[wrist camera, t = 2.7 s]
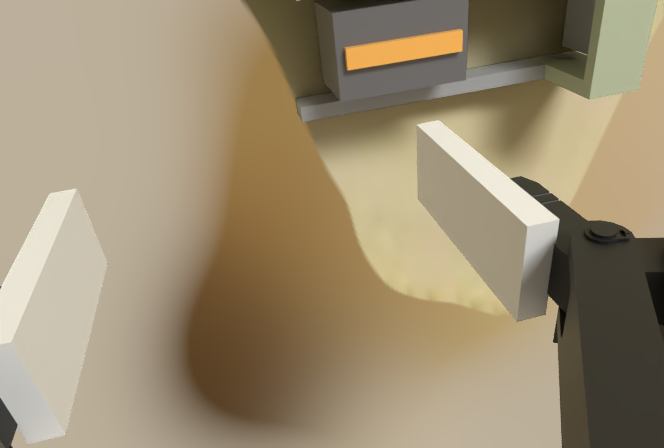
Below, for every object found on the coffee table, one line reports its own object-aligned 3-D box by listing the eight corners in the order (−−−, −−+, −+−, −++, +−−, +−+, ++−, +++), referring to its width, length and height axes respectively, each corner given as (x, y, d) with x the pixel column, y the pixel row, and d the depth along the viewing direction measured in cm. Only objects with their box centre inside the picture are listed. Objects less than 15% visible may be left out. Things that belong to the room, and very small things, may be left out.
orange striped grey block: (322, 80, 35) (342, 104, 31) (314, 1, 33) (333, 14, 28) (434, 61, 36) (469, 81, 32) (434, -17, 34) (472, -7, 29)
